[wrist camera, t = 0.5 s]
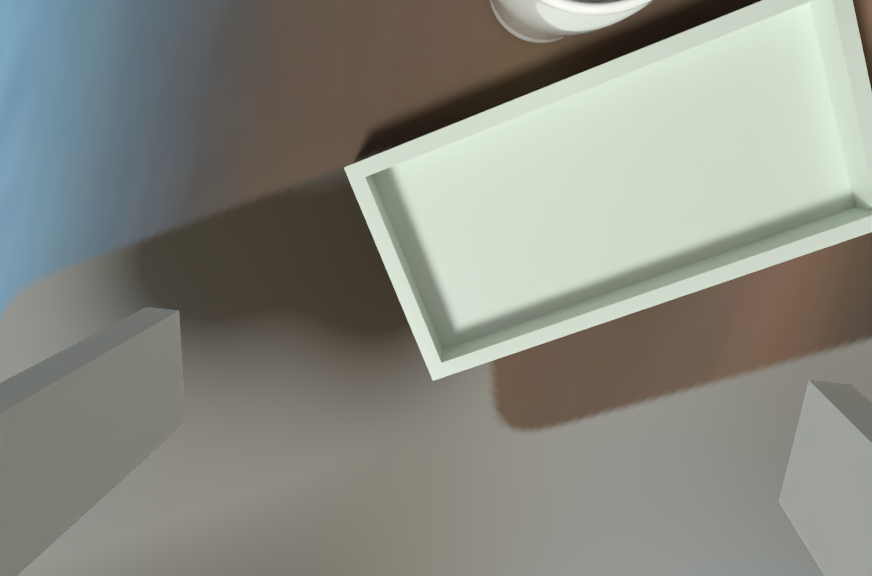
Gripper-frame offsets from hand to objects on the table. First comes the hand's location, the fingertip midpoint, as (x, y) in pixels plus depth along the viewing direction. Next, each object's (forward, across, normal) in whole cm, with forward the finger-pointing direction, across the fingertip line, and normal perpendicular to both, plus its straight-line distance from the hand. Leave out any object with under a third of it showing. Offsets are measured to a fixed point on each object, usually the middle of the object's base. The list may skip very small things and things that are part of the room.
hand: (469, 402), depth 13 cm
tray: (+22, +5, +2) cm, 23 cm away
